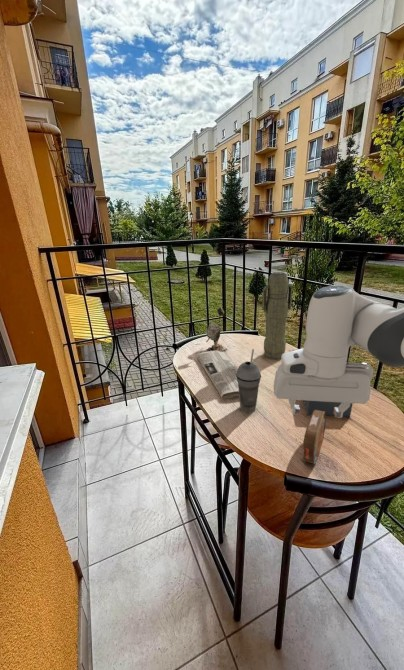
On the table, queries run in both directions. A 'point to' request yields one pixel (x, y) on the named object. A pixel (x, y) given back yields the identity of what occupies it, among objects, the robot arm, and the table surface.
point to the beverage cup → (248, 385)
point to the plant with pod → (215, 333)
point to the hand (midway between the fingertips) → (316, 414)
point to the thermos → (276, 314)
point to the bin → (325, 407)
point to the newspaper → (220, 372)
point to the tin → (314, 436)
